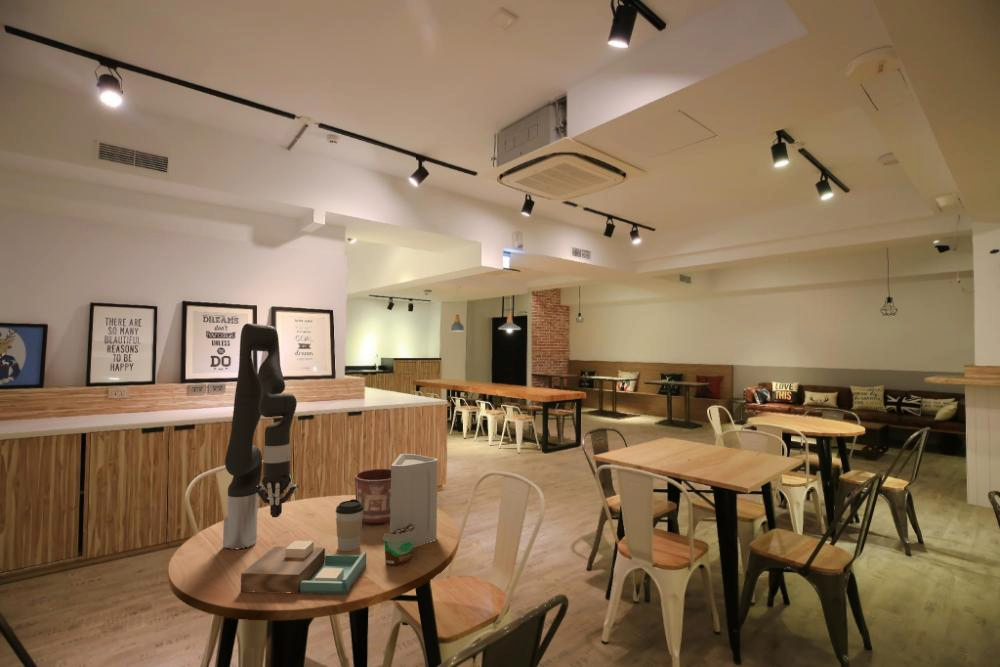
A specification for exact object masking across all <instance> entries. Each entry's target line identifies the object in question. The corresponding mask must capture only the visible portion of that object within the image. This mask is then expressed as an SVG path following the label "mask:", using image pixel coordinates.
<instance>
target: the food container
mask: <svg viewBox="0 0 1000 667" xmlns="http://www.w3.org/2000/svg"><path fill="white" fill-rule="evenodd" d="M415 535H416V528H415V526H414V524H412V523H409V526H407V527H404V528H401V529H397V530H395V531H394V532H392V533H391V534H390V533H385V532H384V533H383V537H382V541H383V542H384V559H385V565H386V566H388V567H389V565H390V567H400V566H399V565H401V566H404V564H405V565H407V564H409V563H411V561H413V560H412V558H413V550H414V549H413V548H414V547H413V542H414V536H415Z"/></svg>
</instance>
